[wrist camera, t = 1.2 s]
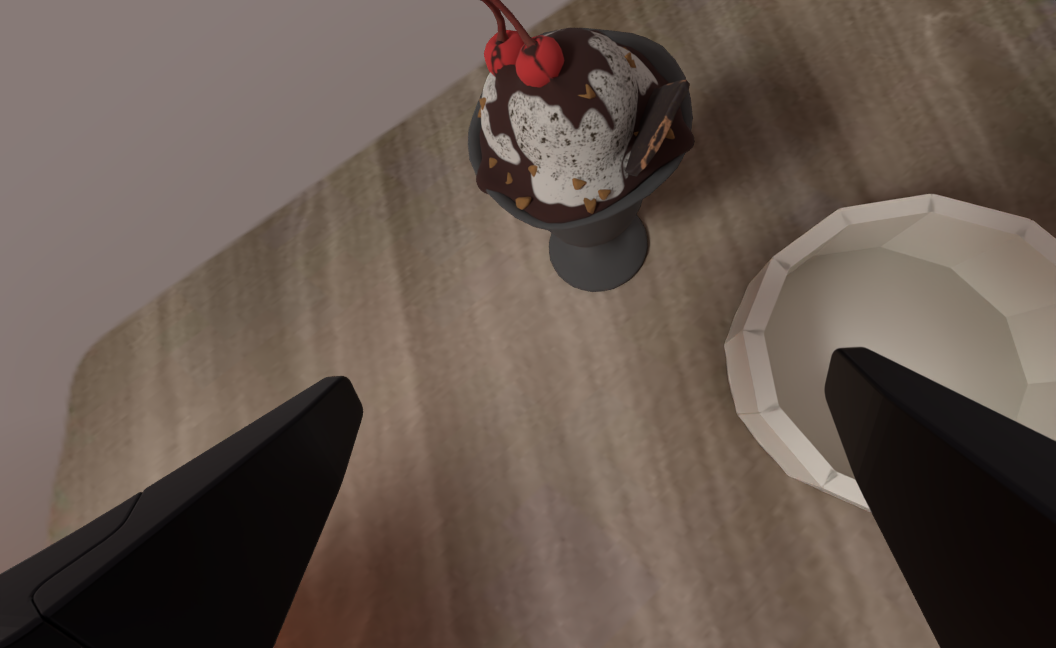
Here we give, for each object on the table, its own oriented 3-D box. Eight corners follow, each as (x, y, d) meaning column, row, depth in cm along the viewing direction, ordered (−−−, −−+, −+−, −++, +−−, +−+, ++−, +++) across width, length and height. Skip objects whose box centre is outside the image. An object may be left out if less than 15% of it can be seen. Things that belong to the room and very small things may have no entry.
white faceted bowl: (1070, 292, 18) (1187, 259, 15) (982, 562, 17) (1082, 603, 13) (778, 207, 21) (810, 162, 18) (687, 431, 20) (700, 433, 17)
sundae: (511, 226, 24) (341, -50, 10) (623, 162, 24) (613, -232, 9) (567, 332, 22) (457, 181, 8) (690, 267, 22) (808, -23, 7)
